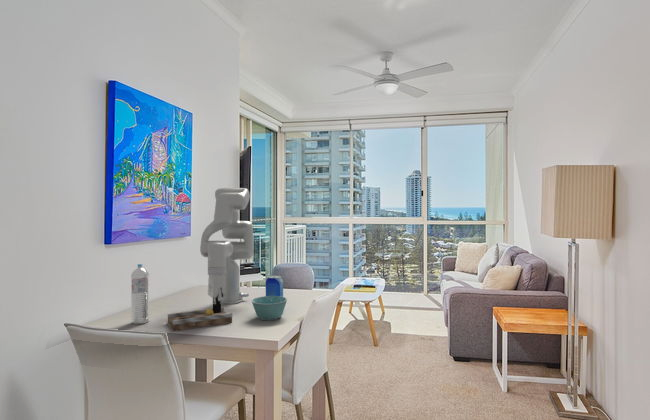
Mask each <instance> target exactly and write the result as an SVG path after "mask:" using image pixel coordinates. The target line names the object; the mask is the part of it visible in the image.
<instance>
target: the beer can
mask: <svg viewBox="0 0 650 420" xmlns="http://www.w3.org/2000/svg"><path fill="white" fill-rule="evenodd" d="M265 296H281V297H284V280H283V278H282V276H281V275H268V276H267V278H266V280H265Z"/></svg>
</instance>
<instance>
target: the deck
mask: <svg viewBox="0 0 650 420" xmlns="http://www.w3.org/2000/svg"><path fill="white" fill-rule="evenodd" d="M207 309H208V308H207ZM207 309H198V310H188V311H182V312H173V313H167V325H168V326H169V327H170V328H171V330H172V331H173V332H175V331H176V330H177V331H182V329H184V330H189V328H191V329H196V328H195V327H198V328H203V326H205V327H210V326H211V325H212V326H217V325H224V324H225V325H226V324H230V323H233V312H228V313H227V312H226V311H225V309H224V307H223V306H221V313H216V314H214V313H213V315H211V316H207V315H206V310H207ZM211 309H212V310H213V308H211Z"/></svg>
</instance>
